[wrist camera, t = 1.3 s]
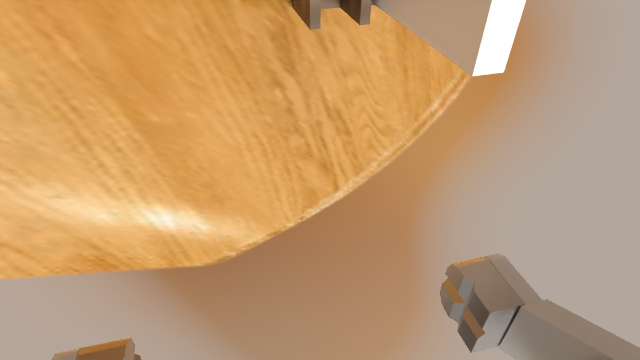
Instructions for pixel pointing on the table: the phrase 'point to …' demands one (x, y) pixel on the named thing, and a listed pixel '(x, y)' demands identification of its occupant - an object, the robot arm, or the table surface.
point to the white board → (462, 29)
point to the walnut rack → (353, 3)
